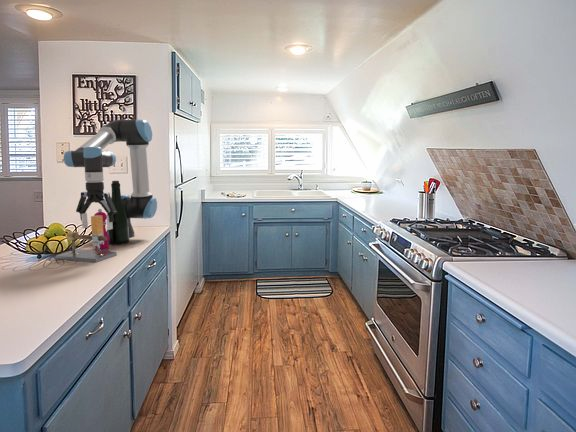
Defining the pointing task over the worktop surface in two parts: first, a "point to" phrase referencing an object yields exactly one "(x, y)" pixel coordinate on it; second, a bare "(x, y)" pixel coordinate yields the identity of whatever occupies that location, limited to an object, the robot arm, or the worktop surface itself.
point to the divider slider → (97, 230)
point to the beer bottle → (118, 218)
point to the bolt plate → (86, 255)
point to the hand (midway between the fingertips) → (97, 228)
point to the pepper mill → (105, 245)
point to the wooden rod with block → (75, 235)
